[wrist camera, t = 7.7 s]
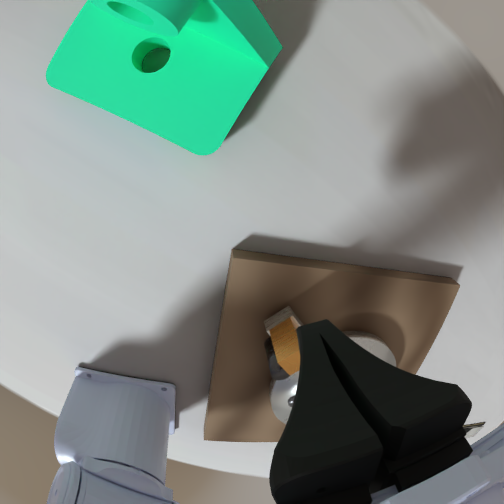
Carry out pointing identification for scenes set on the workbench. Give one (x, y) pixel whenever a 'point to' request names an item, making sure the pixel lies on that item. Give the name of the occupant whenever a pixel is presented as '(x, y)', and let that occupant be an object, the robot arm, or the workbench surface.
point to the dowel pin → (274, 362)
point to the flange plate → (289, 357)
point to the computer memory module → (472, 429)
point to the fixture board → (309, 311)
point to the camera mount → (168, 64)
